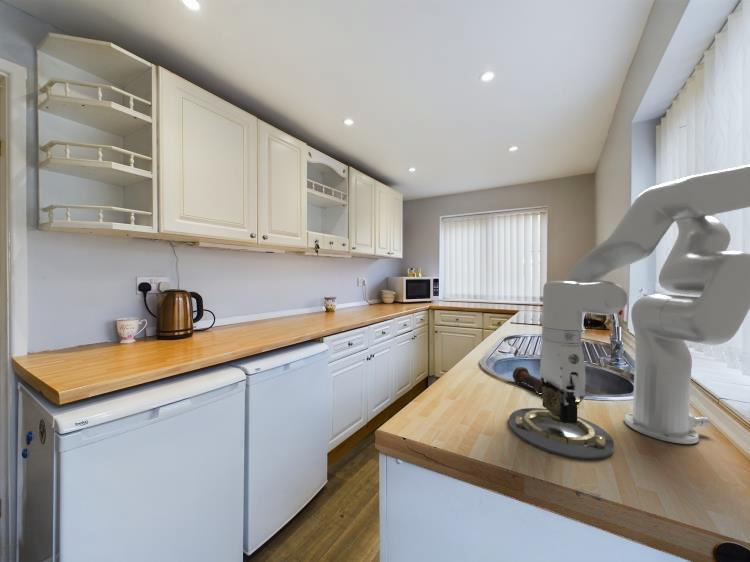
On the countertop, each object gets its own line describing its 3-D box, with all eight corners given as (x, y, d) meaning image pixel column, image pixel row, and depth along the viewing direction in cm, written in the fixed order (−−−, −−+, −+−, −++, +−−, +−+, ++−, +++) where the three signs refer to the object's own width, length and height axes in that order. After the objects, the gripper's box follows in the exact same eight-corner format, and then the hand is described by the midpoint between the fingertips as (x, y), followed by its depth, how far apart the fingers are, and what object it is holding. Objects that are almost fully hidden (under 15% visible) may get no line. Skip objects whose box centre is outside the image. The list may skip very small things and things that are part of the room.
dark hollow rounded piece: (585, 430, 64) (586, 392, 64) (547, 426, 65) (548, 389, 65) (569, 413, 71) (570, 380, 71) (535, 410, 73) (536, 377, 72)
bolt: (550, 406, 87) (516, 385, 102) (564, 397, 88) (528, 377, 102) (543, 390, 86) (509, 371, 101) (556, 380, 87) (521, 363, 101)
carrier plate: (574, 413, 78) (575, 401, 78) (640, 462, 58) (640, 445, 58) (496, 411, 79) (496, 399, 79) (534, 458, 59) (534, 442, 59)
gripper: (606, 345, 59) (603, 435, 60) (556, 329, 76) (554, 399, 77) (567, 344, 59) (564, 434, 60) (526, 328, 77) (524, 398, 77)
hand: (558, 413), depth 68 cm, fingers closed on dark hollow rounded piece, 6 cm apart
